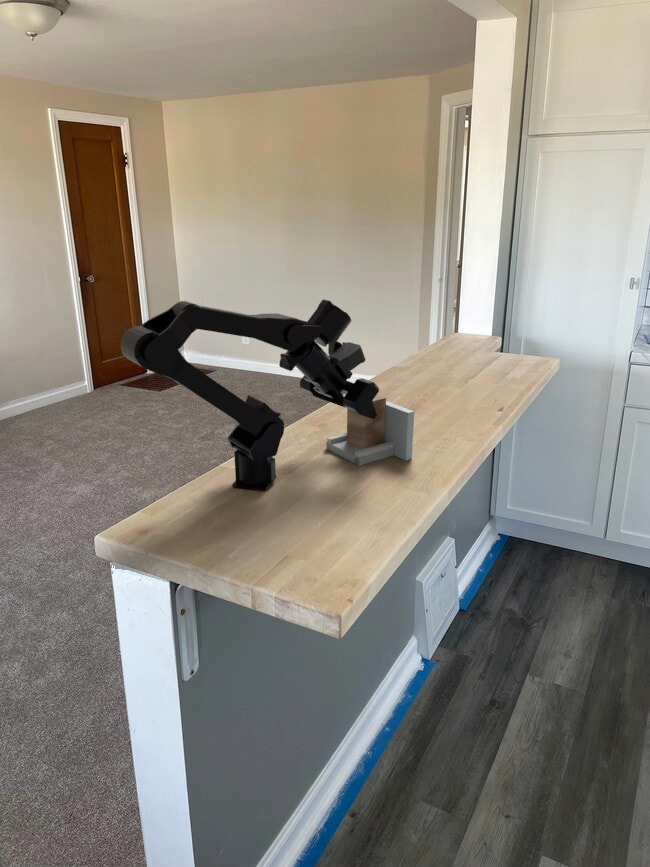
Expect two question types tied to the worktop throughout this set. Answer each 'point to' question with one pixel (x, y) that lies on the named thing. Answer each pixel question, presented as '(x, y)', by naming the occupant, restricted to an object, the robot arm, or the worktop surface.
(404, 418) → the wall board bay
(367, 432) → the walnut cabinet block
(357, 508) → the worktop surface
